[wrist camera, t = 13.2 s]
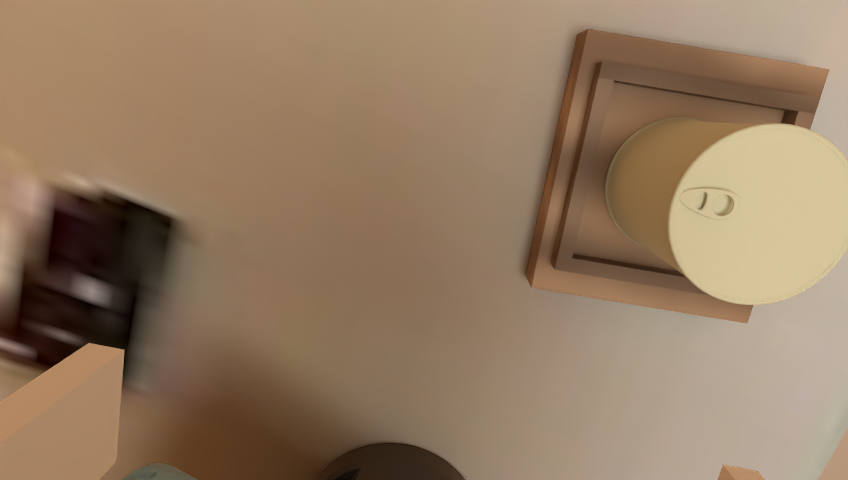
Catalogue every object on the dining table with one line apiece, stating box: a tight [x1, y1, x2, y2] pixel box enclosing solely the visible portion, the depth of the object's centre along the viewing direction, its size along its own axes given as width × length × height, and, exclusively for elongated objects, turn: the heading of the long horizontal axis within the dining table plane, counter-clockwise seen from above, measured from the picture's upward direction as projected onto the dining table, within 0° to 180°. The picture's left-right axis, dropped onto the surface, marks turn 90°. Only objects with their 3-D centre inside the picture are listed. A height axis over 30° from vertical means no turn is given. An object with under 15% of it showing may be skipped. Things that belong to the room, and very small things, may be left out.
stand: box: [526, 29, 829, 323], centre depth 39 cm, size 18×16×4 cm
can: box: [605, 117, 848, 305], centre depth 33 cm, size 9×9×12 cm
